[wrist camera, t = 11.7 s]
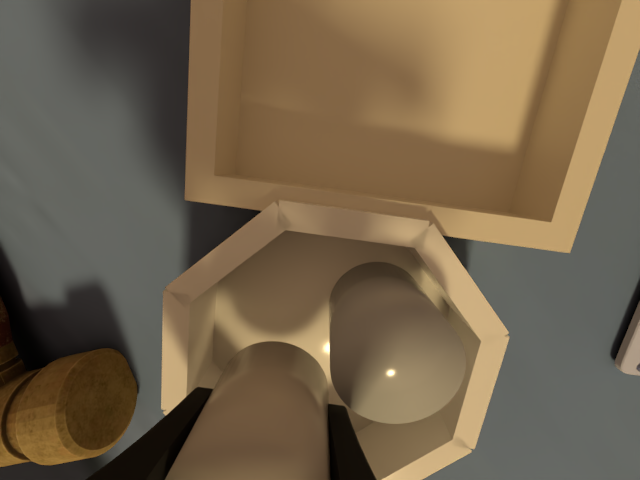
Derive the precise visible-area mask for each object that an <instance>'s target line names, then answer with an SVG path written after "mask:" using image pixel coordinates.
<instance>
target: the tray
mask: <svg viewBox="0 0 640 480" xmlns="http://www.w3.org/2000/svg"><path fill="white" fill-rule="evenodd" d="M639 49H640V0H191V14H190V45H189V77H188V109H187V141H186V173H185V200H187V201H194V202H202V203H209V204H216V205H223V206H231V207H238V208H245V209H253V210H260V211H263V210H264V209H266V208H267V207H268V206H270V205H271V204H272V203H273V202H275V201H277V202H278V203H279V200H281V199H283V200H290V201H297V202H304V203H312V204H319V205H326V206H333V207H341V208H348V209H355V210H362V211H370V212H377V213H384V214H391V215H399V216H406V217H413V218H420V219H426V220H428V221H430V222H432V223H434V224H435V226H436V227H437V229H438V230H439V232H440V233H441V235H442V236H449V237H456V238H464V239H471V240H478V241H486V242H493V243H500V244H507V245H515V246H522V247H529V248H537V249H544V250H551V251H558V252H566V253H570V251H571V248H572V245H573V242H574V239H575V236H576V233H577V230H578V227H579V225H580V222H581V219H582V216H583V213H584V210H585V207H586V204H587V201H588V198H589V195H590V192H591V189H592V186H593V183H594V181H595V178H596V175H597V172H598V169H599V166H600V163H601V160H602V157H603V154H604V151H605V148H606V145H607V142H608V139H609V137H610V134H611V131H612V128H613V125H614V122H615V119H616V116H617V113H618V110H619V107H620V104H621V101H622V98H623V95H624V93H625V90H626V87H627V84H628V81H629V78H630V75H631V72H632V69H633V66H634V63H635V60H636V57H637V54H638V51H639Z"/></svg>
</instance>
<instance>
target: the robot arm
mask: <svg viewBox="0 0 640 480" xmlns="http://www.w3.org/2000/svg"><path fill="white" fill-rule="evenodd" d="M615 366H616V367H617V368H618V369H619V370H621V371H622V372H624V373H626V374H632V375H640V301H639V303H638V306H637V308H636V311H635V313H634V315H633V318H632V320H631V323H630V325H629V328H628V330H627V332H626V335H625V337H624V340H623V342H622V344H621V347H620V349H619V352H618V354H617V357H616V359H615ZM212 391H213V389H211V388H203V387H196V388H195V389H194V390H193V391H192V392H191V393H190V394H189V395H188V396H186V397H185V398H184V399H183V400H182V401H181V402H180V403H179V404H178V405H177V406H176V407H175V408H174V409H173V410H172V411H170V412H169V413H168V414H167V415H166V416H165V417H164V418H163V419H162V420H160V421H159V422H158V423H157V424H156V425H155V426H154V427H153V428H151V429H150V430H149V431H148V432H147V433H146V434H144V435H143V436H142V437H141V438H140V439H138V440H137V441H136V442H135V443H133V444H132V445H131V446H130V447H129V448H127V449H126V450H125V451H124V452H122V453H121V454H120V455H119V456H117V457H116V458H115V459H113V460H112V461H111V462H109V463H108V464H107V465H105V466H104V467H103V468H101V469H100V470H99V471H97V472H96V473H94V474H93V475H92V476H90V477H89V478H87V479H86V480H165V479H166V477H167V475H168V473H169V471H170V469H171V467H172V465H173V464H174V462H175V460H176V458H177V456H178V454H179V452H180V451H181V449H182V447H183V445H184V443H185V441H186V439H187V437H188V436H189V434H190V432H191V430H192V428H193V426H194V424H195V423H196V421H197V419H198V417H199V415H200V413H201V411H202V409H203V408H204V406H205V404H206V402H207V400H208V398H209V396H210V394H211V393H212ZM328 416H329V440H330V477H331V480H377V479H376V477H375V475H374V473H373V471H372V469H371V467H370V465H369V463H368V461H367V459H366V457H365V454H364V452H363V450H362V448H361V446H360V443H359V441H358V439H357V436H356V434H355V431H354V429H353V426H352V423H351V420H350V418H349V415H348V411H347V408H346V407H345V406H343V405H335V404H328Z"/></svg>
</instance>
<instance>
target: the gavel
mask: <svg viewBox="0 0 640 480" xmlns="http://www.w3.org/2000/svg"><path fill="white" fill-rule="evenodd" d="M17 355H18V351H17V349H16V347H15V344H14V342H13V340H12V333H11V327H10V321H9V315H8V312H7V310H6V308H5V305H4V303H3V301H2V298H1V296H0V467H4V466H9V465H14V464H19V463H24V462H29V461H33V462H35V463H38V464H40V465H55V464H61V463H66V462H71V461H76V460H81V459H86V458H92V457H96V456H98V455H101V454H103V453H105V452H106V451H108V450H109V449H110V448H112V447H113V446H114V445H115V444H116V443H117V442H118V441H119V440H120V438H121V437H122V435H123V434H124V433H125V431H126V429H127V427H128V426H129V424H130V421H131V419H132V416H133V414H134V410H135V406H136V401H137V383H136V381H135V379H134V377H133V374H132V372H131V370H130V368H129V365H128V363H127V361H126V359H125V358H124V356H123V355H122V354H121V353H120V352H119V351H117V350H114V349H110V348H102V349H97V350H92V351H88V352H83V353H79V354H74V355H70V356H66V357H62V358H59V359H57V360H55V361H53V362H51V363H50V364H48V365H47V366H46V367H44V368H40V369H36V370H31V371H27V370H26V368H25V366H24V363H23V361H22V359H21V358H17V359H16V358H15V357H16V356H17Z"/></svg>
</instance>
